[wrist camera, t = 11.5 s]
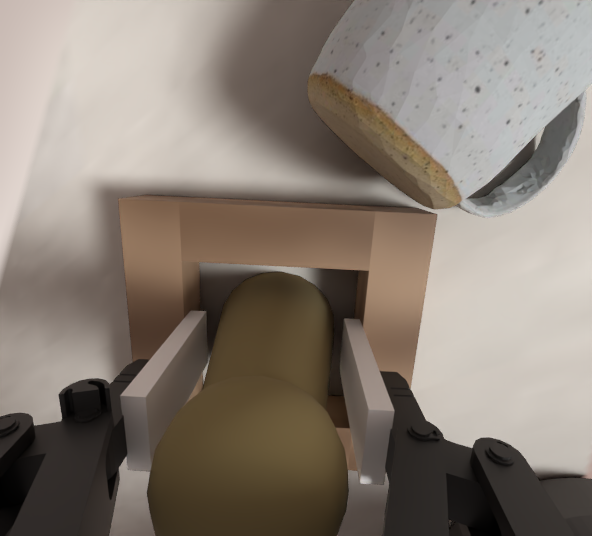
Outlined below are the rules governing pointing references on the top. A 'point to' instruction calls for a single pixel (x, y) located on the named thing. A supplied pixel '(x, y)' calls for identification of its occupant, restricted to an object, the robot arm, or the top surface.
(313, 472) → the olive rounded upright piece
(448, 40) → the ceramic mug
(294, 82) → the top surface
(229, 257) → the socket block
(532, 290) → the top surface
